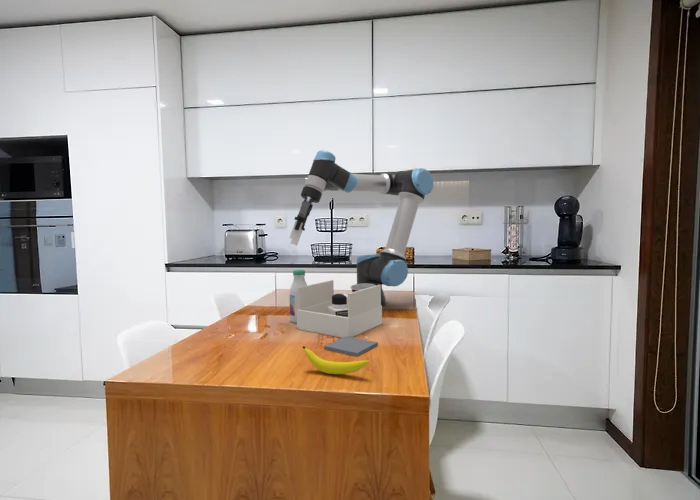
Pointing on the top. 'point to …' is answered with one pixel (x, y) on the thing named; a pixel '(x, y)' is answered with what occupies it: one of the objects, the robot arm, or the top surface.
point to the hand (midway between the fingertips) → (293, 241)
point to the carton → (316, 318)
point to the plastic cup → (361, 286)
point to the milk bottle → (296, 293)
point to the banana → (334, 364)
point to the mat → (351, 346)
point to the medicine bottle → (339, 305)
